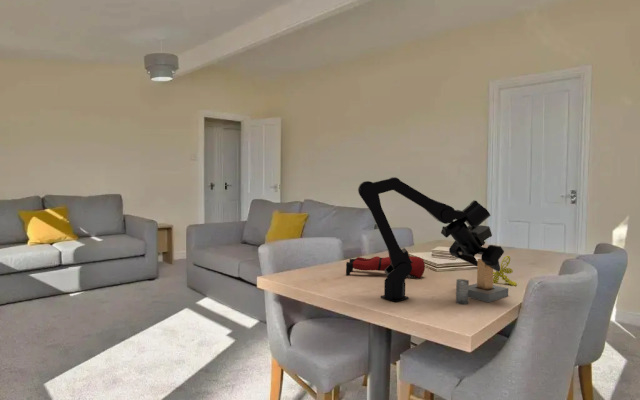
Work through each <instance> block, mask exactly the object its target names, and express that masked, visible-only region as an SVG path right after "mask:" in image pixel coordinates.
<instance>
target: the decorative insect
mask: <svg viewBox="0 0 640 400" xmlns="http://www.w3.org/2000/svg"><path fill="white" fill-rule="evenodd" d="M507 261H508V262H507ZM510 261H511V257H510V256H509V255H505V257H503V258H502V261H501V264H500V271H499V272H498V271H496V270H495V271H493V284H497V283H499V280H500V278H501V279H502V280H503V281H504V282H505V283H507V284H508V285H510V286H512V287H516V286H517V285H518V284H517V282H516V281H513V280H510V278H509V277H508V275H506V274H512V273H513V271H514V270H513V269H512V268H510V267H508V266H509V264H510ZM503 263H504V264H503ZM507 267H508V268H507Z"/></svg>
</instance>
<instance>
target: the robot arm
mask: <svg viewBox="0 0 640 400" xmlns="http://www.w3.org/2000/svg"><path fill="white" fill-rule="evenodd" d="M391 191H394V192H395V193H397V194H400V195H401V196H402V197H404V198H405V199H408V200H409V201H410V202H413V203H414V204H416V205H418V206H419V207H421V208H423V210H425V211H426V212H427V213H428V214H429V215H430V216H432V217H433V218H434V219H435V220H436V221H437V222H440V223H442V224H447V225H445V226H442V227H441V231H440V234H441V235H442V236H443V237H445V238H449V236H451V237H452V239H453V240H454V241H453V243H452V244H451V246H450V247H449V249H448V251H449V254H450V255H451V256H452V257H455V258H456V259H459V260H462V261H464V262H466V263H469V264H471V265H473V266H475V267H477V264H478V259H477V258H476V257H475V256H476V255H480V256H481V258H480V259H481V260H482V261H483V262H484V263H485V265H487V266H489V267H490V268H492V269H493V271H495V272H496V271H498V272H499V271H500V269H501V264H500V261H499V260H500V259H501V257H502V256H503V255H504V254H505V250H504V248H503V247H502V246H501V245H496V244H495V245H494V244H488V246H487V247H484V245H485V244H486V240H488V239H489V238H491V237H492V236H493V233H492V231H491V228H490V226H487V225H481V224H483V222H485V221H486V220H487V219H488V218H490V217H491V214H490V212H489V211H488V209H487V208H486V207H484V206H483V205H481V203H479V202H478V201H477V200H475V199H474V200H472V201H470V203H469V204H468V205H467V206H466V207H464V209H462V210H459V209H455V208H454V207H453V206H452V205H451V206H450V205H449V204H446V203H443V202H440V201H439V200H438V201H437V200H435V199H432V198H430V197H428V196H427V195H425V194H424V193H422V192H420V190H419V191H418V190H417V189H416V188H414V187H412V186H410V185H408V184H407V183H405V182H404V181H402V180H400V179H399V178H398V177H396V176H395V177H394V176H393V177H389V178H387V179H382V180H379V181H378V180H377V181H374V182H372V181H369V180H367V181H365V180H364V181H362V182H360V184H359V185H358V188H357V192H358V195H359V196H360V198H361V199H362V201H363V202H364V205H366V207H367V209H369V211H370V213H371V215H372V218H373V220H374V222H375V224H376V227H377V228H378V231H379V233H380V235H381V237H382V240H383V242H384V244H385V246H386V249H387V253H388V257H389V258H390V262H391V264H390V265H389V266H388V267H387V268H386V269H385V270H384V271H383V272H384V274H385V276H386V278H385V279H384V284H383V285H384V292H383V295H381V296H380V298H381V299H385V300H388V301H390V302H391V301H392V302H394V303H397V302H401V301H405V300H408V299H409V296H406V278H407V277H406V276H408V275H409V274H410V273H411V270H412V265H411V263H413V262H412V261H411V260H410V258H409V257H410V255H409V252H408V250H407V249H406V248H405V247H403V248H402V249H401V247H400V245H399V244H398V240H397V239H396V237H395V234H394V231H393V230H392V228H391V225H390V223H389V221H388V219H387V217H386V214H385V212H384V210H383V208H382V203H381V199H380V194H384V193H388V192H391Z"/></svg>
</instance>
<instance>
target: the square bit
mask: <svg viewBox="0 0 640 400" xmlns="http://www.w3.org/2000/svg"><path fill="white" fill-rule="evenodd" d="M477 262H478V264H477V266H476V267H477V269H476V270H477V272H476V273H477V275H476V283H477V289H482V290H486V291H489V290H492V289H493V285H494V282H493V278H494V276H493V275H494V274H493V272H494V269H492V268H490V267H489V266H487V265H485V263H484V262H483V261H482V260H481V258H477Z"/></svg>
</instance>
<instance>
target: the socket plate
mask: <svg viewBox="0 0 640 400" xmlns="http://www.w3.org/2000/svg"><path fill="white" fill-rule="evenodd" d="M508 296H509V287H503V286H501V285H500V286H499V285H495V284H493V289H492V290H489V291H486V290H482V289H477V282H476V283H473V284H469V289H468V299H473V300H478V301H482V302H485V303H490V302H491V303H492V302H494V301H496V300H500V299H504V298H506V297H508Z"/></svg>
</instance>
